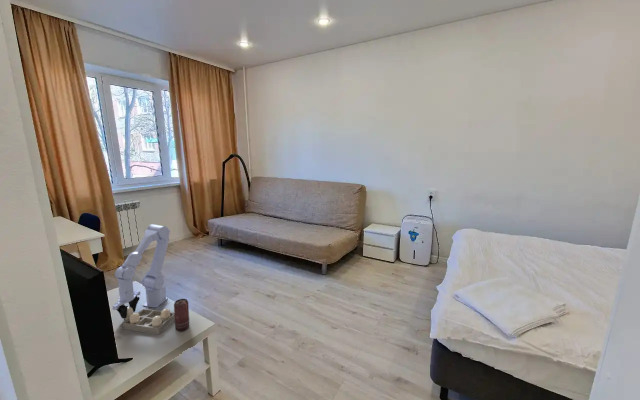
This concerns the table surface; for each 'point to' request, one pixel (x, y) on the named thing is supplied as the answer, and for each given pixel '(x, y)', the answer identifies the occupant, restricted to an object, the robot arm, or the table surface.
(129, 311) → the egg
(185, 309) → the can
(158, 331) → the carton
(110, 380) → the table surface
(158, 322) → the egg
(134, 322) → the egg
